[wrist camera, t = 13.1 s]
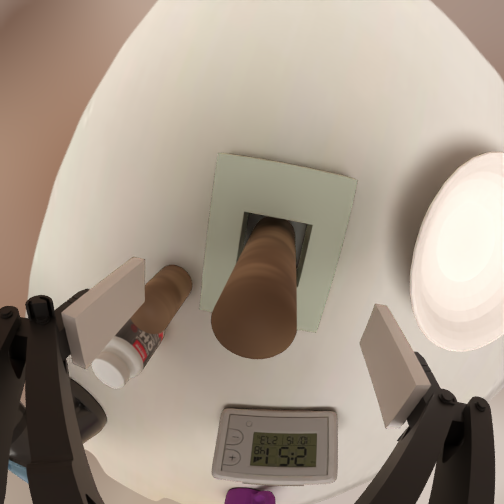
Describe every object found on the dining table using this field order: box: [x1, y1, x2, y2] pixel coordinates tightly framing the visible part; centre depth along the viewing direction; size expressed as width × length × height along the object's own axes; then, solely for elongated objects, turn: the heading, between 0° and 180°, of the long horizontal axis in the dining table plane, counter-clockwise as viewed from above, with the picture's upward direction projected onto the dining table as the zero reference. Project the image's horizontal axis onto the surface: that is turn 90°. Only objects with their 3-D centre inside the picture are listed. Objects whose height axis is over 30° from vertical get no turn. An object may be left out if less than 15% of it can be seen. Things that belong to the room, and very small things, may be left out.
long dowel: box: [211, 216, 297, 359], centre depth 20 cm, size 4×4×15 cm
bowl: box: [410, 152, 504, 351], centre depth 21 cm, size 20×20×6 cm
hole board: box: [199, 153, 358, 333], centre depth 25 cm, size 11×14×4 cm
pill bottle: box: [92, 319, 164, 389], centre depth 28 cm, size 5×5×10 cm
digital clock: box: [212, 408, 338, 486], centre depth 31 cm, size 16×9×11 cm, turn 81°
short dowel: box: [130, 265, 192, 334], centre depth 27 cm, size 4×4×7 cm
